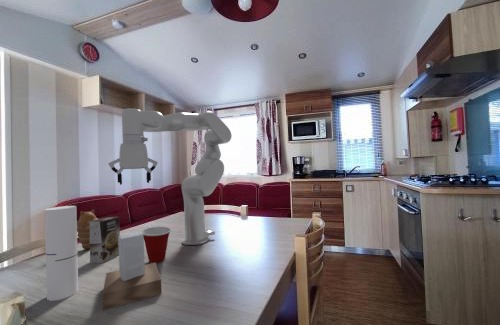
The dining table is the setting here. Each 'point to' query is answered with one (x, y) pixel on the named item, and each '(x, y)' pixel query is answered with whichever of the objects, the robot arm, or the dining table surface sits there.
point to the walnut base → (131, 287)
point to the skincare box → (131, 255)
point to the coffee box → (104, 239)
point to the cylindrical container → (61, 252)
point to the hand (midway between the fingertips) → (134, 183)
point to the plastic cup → (156, 243)
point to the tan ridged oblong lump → (85, 228)
